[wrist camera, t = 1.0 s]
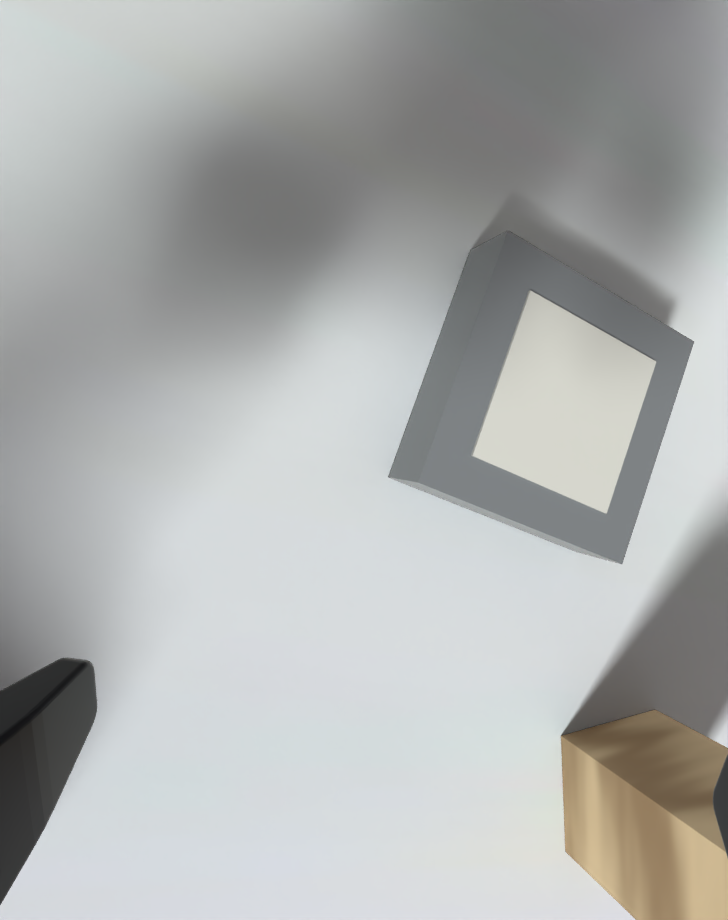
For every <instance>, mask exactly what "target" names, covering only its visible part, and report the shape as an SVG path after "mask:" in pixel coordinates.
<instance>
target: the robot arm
mask: <svg viewBox="0 0 728 920" xmlns="http://www.w3.org/2000/svg"><path fill="white" fill-rule="evenodd" d="M96 712H97V697H96V685H95V673H94V667H93V665H92V663H91V662H90V661H88V660H82V659H74V658H61V659H59V660H57V661H55V662H53V663H51V664H49V665H48V666H46V667H44V668H42V669H40V670H38V671H36V672H35V673H33V674H31V675H29V676H27V677H25V678H23V679H22V680H20V681H18V682H16V683H14V684H12V685H10V686H9V687H7V688H5V689H3V690H1V691H0V905H1V903H2V901H3V900H4V898H5V896H6V895H7V893H8V891H9V889H10V888H11V886H12V884H13V882H14V881H15V879H16V877H17V876H18V874H19V872H20V870H21V869H22V867H23V865H24V864H25V862H26V860H27V858H28V857H29V855H30V853H31V852H32V850H33V848H34V846H35V845H36V843H37V841H38V839H39V837H40V836H41V834H42V832H43V830H44V828H45V827H46V824H47V822H48V820H49V818H50V816H51V814H52V812H53V810H54V808H55V806H56V804H57V801H58V799H59V797H60V795H61V793H62V791H63V788H64V786H65V784H66V782H67V780H68V777H69V775H70V773H71V771H72V769H73V767H74V764H75V762H76V760H77V758H78V756H79V753H80V751H81V749H82V747H83V745H84V743H85V740H86V738H87V736H88V734H89V732H90V729H91V727H92V725H93V723H94V720H95V717H96ZM713 808H714V812H715V816H716V819H717V823H718V826H719V830H720V833H721V837H722V840H723V844H724V847H725V851H726V854H727V858H728V755H727V757H726V759H725V762H724V764H723V767H722V770H721V772H720V775H719V778H718V780H717V783H716V785H715V788H714V792H713Z"/></svg>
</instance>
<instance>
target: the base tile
mask: <svg viewBox="0 0 728 920" xmlns="http://www.w3.org/2000/svg"><path fill="white" fill-rule="evenodd" d="M693 344H694V341H692V340H691V339H689V338H687V337H686V336H684V335H682V334H681V333H679V332H677V331H676V330H674V329H672V328H671V327H669V326H667V325H666V324H664V323H662V322H661V321H659V320H657V319H656V318H654V317H652V316H651V315H649V314H647V313H646V312H644V311H642V310H640V309H639V308H637V307H635V306H634V305H632V304H630V303H629V302H627V301H625V300H624V299H622V298H620V297H619V296H617V295H615V294H614V293H612V292H610V291H609V290H607V289H605V288H604V287H602V286H600V285H599V284H597V283H595V282H594V281H592V280H590V279H589V278H587V277H585V276H584V275H582V274H580V273H579V272H577V271H575V270H574V269H572V268H570V267H569V266H567V265H565V264H564V263H562V262H560V261H559V260H557V259H555V258H554V257H552V256H550V255H549V254H547V253H545V252H544V251H542V250H540V249H539V248H537V247H535V246H534V245H532V244H530V243H529V242H527V241H525V240H524V239H522V238H520V237H519V236H517V235H515V234H514V233H512V232H510V231H509V230H508V231H506V232H504V233H502V234H500V235H498V236H496V237H494V238H493V239H491V240H489V241H487V242H485V243H483V244H481V245H479V246H477V247H476V248H474V249H472V250H470V252H469V255H468V258H467V261H466V263H465V266H464V269H463V272H462V274H461V277H460V280H459V283H458V285H457V288H456V291H455V294H454V297H453V299H452V302H451V305H450V308H449V310H448V313H447V316H446V319H445V321H444V324H443V327H442V330H441V333H440V335H439V338H438V341H437V344H436V346H435V349H434V352H433V355H432V357H431V360H430V363H429V366H428V368H427V371H426V374H425V377H424V380H423V382H422V385H421V388H420V391H419V393H418V396H417V399H416V402H415V404H414V407H413V410H412V413H411V415H410V418H409V421H408V424H407V427H406V429H405V432H404V435H403V438H402V440H401V443H400V446H399V449H398V451H397V454H396V457H395V460H394V463H393V465H392V468H391V471H390V474H389V476H388V477H389V478H391V479H394V480H397V481H399V482H402V483H404V484H407V485H409V486H412V487H414V488H417V489H419V490H422V491H424V492H427V493H429V494H432V495H434V496H437V497H439V498H442V499H444V500H447V501H450V502H452V503H455V504H457V505H460V506H462V507H465V508H467V509H470V510H472V511H475V512H477V513H480V514H482V515H485V516H487V517H490V518H492V519H495V520H497V521H500V522H502V523H505V524H508V525H510V526H513V527H515V528H518V529H520V530H523V531H525V532H528V533H530V534H533V535H535V536H538V537H540V538H543V539H545V540H548V541H550V542H553V543H555V544H558V545H560V546H563V547H566V548H568V549H571V550H573V551H576V552H579V553H582V554H586V555H590V556H593V557H597V558H601V559H604V560H608V561H612V562H615V563H619V564H622V563H623V560H624V557H625V554H626V550H627V547H628V544H629V541H630V538H631V535H632V532H633V529H634V526H635V523H636V520H637V517H638V513H639V510H640V507H641V504H642V501H643V498H644V495H645V492H646V489H647V486H648V483H649V479H650V476H651V473H652V470H653V467H654V464H655V461H656V458H657V455H658V452H659V449H660V446H661V442H662V439H663V436H664V433H665V430H666V427H667V424H668V421H669V418H670V415H671V412H672V408H673V405H674V402H675V399H676V396H677V393H678V390H679V387H680V384H681V381H682V378H683V375H684V371H685V368H686V365H687V362H688V359H689V356H690V353H691V350H692V347H693Z"/></svg>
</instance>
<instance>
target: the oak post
mask: <svg viewBox="0 0 728 920" xmlns="http://www.w3.org/2000/svg"><path fill="white" fill-rule="evenodd" d="M561 747H562V773H563V800H564V826H565V852H566V853H567V854H568V855H570V856H571V857H572V858H573V859H574V860H575V861H576V862H577V863H578V864H579V865H580V866H581V867H582V868H583V869H584V870H585V871H586V872H587V873H588V874H589V875H590V876H591V877H592V878H593V879H594V880H595V881H596V882H598V883H599V884H600V885H601V886H602V887H603V888H604V889H605V890H606V891H607V892H608V893H609V894H610V895H611V896H612V897H613V898H614V899H615V900H616V901H617V902H618V903H619V904H620V905H621V906H622V907H623V908H624V909H625V910H627V911H628V912H629V913H630V914H631V915H632V916H633V917H634V918H635V919H636V920H728V858H727V854H726V851H725V847H724V844H723V840H722V837H721V833H720V830H719V826H718V823H717V819H716V816H715V812H714V808H713V792H714V788H715V785H716V783H717V780H718V778H719V775H720V772H721V770H722V767H723V764H724V762H725V759H726V757H727V755H728V748H727V747H725V746H723V745H721V744H719V743H717V742H715V741H713V740H712V739H710V738H708V737H706V736H704V735H702V734H700V733H698V732H697V731H695V730H693V729H691V728H689V727H687V726H685V725H683V724H681V723H680V722H678V721H676V720H674V719H672V718H670V717H668V716H666V715H664V714H663V713H661V712H659V711H657V710H652V711H648V712H645V713H641V714H638V715H634V716H630V717H627V718H623V719H620V720H616V721H612V722H609V723H605V724H602V725H598V726H594V727H591V728H587V729H584V730H580V731H576V732H573V733H569V734H566V735H562V736H561Z"/></svg>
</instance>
